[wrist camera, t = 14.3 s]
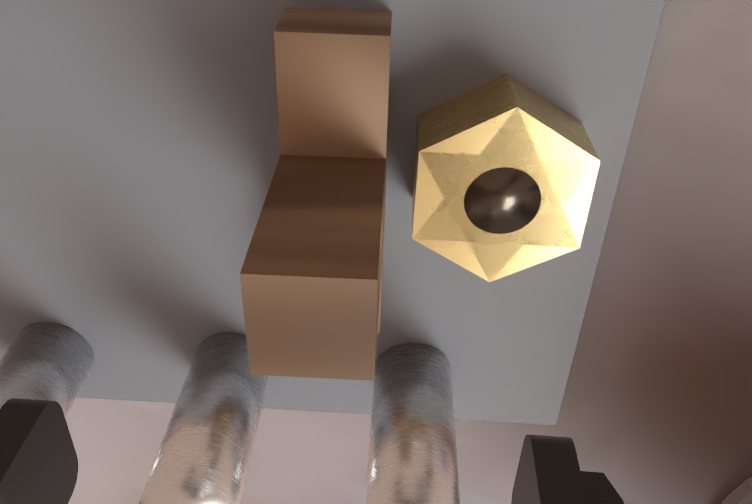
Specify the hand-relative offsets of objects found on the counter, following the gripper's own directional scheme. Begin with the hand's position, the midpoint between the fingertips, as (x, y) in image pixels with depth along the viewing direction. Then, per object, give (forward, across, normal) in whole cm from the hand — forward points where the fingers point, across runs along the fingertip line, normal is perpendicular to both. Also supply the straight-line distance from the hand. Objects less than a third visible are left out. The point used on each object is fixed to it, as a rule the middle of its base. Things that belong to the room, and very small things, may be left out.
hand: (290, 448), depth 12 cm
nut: (+12, -4, 0) cm, 13 cm away
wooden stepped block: (+12, 0, +1) cm, 12 cm away
